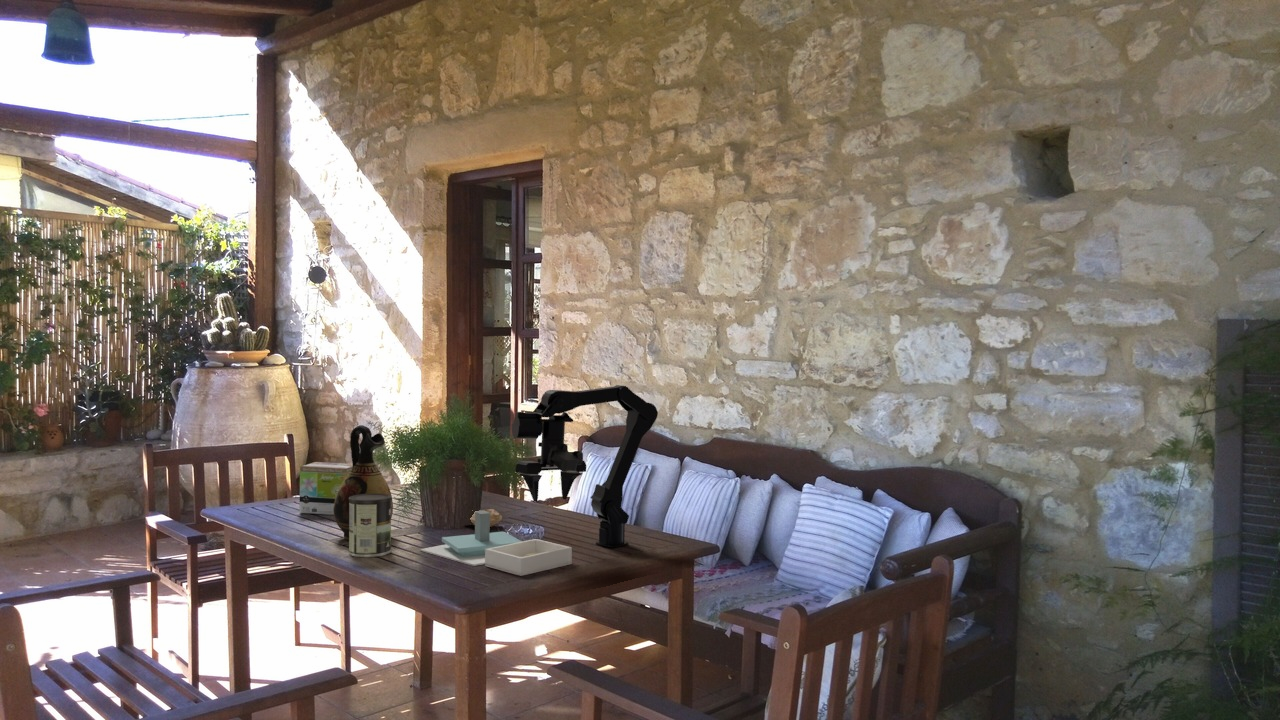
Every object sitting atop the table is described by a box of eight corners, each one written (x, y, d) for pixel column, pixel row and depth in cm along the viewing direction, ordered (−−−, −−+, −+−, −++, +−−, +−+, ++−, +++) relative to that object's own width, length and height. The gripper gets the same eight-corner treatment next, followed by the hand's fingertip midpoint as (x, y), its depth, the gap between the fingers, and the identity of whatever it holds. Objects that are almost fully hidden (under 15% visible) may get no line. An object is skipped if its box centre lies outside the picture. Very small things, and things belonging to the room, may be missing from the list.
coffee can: (385, 546, 237) (385, 492, 237) (395, 555, 228) (396, 498, 228) (344, 550, 232) (344, 494, 232) (353, 559, 223) (353, 501, 223)
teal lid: (503, 540, 244) (504, 505, 243) (523, 551, 232) (523, 514, 231) (441, 547, 236) (441, 510, 235) (458, 558, 223) (458, 519, 223)
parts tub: (535, 554, 230) (535, 538, 230) (571, 563, 222) (571, 547, 222) (484, 565, 219) (485, 549, 218) (520, 575, 210) (521, 558, 210)
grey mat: (488, 537, 249) (488, 536, 249) (543, 551, 234) (543, 549, 234) (420, 550, 233) (420, 549, 233) (474, 566, 218) (474, 564, 218)
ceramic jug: (404, 537, 248) (405, 426, 247) (354, 546, 236) (355, 430, 235) (367, 528, 259) (368, 422, 258) (318, 537, 247) (319, 425, 246)
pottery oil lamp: (470, 520, 270) (482, 499, 271) (497, 539, 263) (509, 518, 264) (452, 514, 263) (464, 492, 264) (479, 534, 256) (491, 512, 257)
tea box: (298, 514, 278) (298, 465, 277) (314, 508, 288) (314, 461, 287) (345, 516, 276) (346, 467, 275) (360, 510, 286) (360, 462, 285)
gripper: (541, 442, 223) (538, 507, 223) (601, 441, 235) (598, 502, 235) (515, 438, 231) (512, 501, 231) (574, 437, 244) (571, 496, 243)
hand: (550, 500), depth 235 cm, fingers open, 9 cm apart
